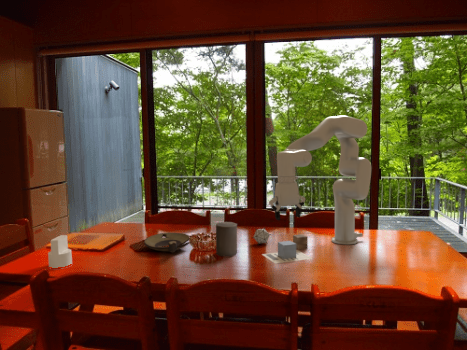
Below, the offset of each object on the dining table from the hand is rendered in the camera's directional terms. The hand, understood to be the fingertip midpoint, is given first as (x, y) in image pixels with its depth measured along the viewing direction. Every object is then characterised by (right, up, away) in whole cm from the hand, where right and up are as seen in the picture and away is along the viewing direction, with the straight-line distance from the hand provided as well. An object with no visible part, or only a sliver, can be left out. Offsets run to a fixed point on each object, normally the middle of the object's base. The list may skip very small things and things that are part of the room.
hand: (288, 218), depth 168 cm
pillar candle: (-27, -17, +8) cm, 33 cm away
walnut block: (+8, -16, +14) cm, 23 cm away
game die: (-10, -16, +23) cm, 30 cm away
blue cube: (0, -17, +1) cm, 17 cm away
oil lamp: (-56, -17, +15) cm, 60 cm away
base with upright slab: (-97, -20, -5) cm, 100 cm away
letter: (0, -17, +1) cm, 17 cm away
